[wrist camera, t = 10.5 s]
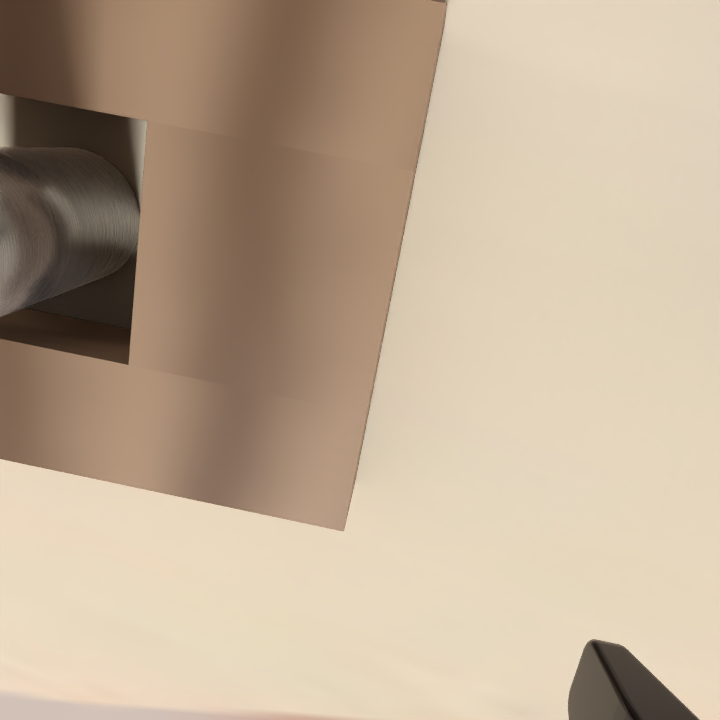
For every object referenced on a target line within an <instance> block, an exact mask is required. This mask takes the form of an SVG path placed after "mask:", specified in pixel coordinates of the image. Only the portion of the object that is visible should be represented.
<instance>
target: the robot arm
mask: <svg viewBox="0 0 720 720" xmlns="http://www.w3.org/2000/svg"><path fill="white" fill-rule="evenodd" d="M568 714H569V720H699V719H698V718H697V717H696V716H695V715H694V714H693V713H692V712H691V711H690V710H689V709H688V708H687V707H686V706H685V705H684V704H683V703H682V702H681V701H680V700H679V699H678V698H677V697H676V696H675V695H674V694H673V693H671V692H670V691H669V690H668V689H667V688H666V687H665V686H664V685H663V684H662V683H661V682H660V681H659V680H658V679H657V678H656V677H655V676H654V675H653V674H652V673H651V672H650V671H649V670H648V669H647V668H646V667H645V666H644V665H643V664H642V663H641V662H640V661H639V660H638V659H636V658H635V657H634V656H633V655H632V654H631V653H630V652H629V651H628V650H627V649H626V648H625V647H624V646H622V645H619V644H615V643H610V642H605V641H601V640H596V639H593V640H590V641H589V642H588V643H587V644H586V646H585V648H584V650H583V653H582V656H581V659H580V662H579V665H578V668H577V671H576V674H575V677H574V680H573V682H572V685H571V689H570V693H569V699H568Z"/></svg>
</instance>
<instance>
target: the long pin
mask: <svg viewBox="0 0 720 720" xmlns="http://www.w3.org/2000/svg"><path fill="white" fill-rule="evenodd" d="M139 223H140V212H139V207H138V203H137V200H136V197H135V194H134V192H133V190H132V188H131V186H130V184H129V183H128V181H127V180H126V178H125V177H124V176H123V174H122V173H121V172H120V171H119V170H118V169H117V168H116V167H115V166H114V165H113V164H112V163H110V162H109V161H108V160H106V159H105V158H103V157H101V156H100V155H98V154H96V153H93V152H91V151H88V150H84V149H80V148H66V147H0V317H2V316H4V315H7V314H10V313H12V312H15V311H17V310H20V309H23V308H25V307H28V306H30V305H33V304H36V303H38V302H41V301H43V300H46V299H49V298H51V297H54V296H56V295H59V294H62V293H64V292H67V291H69V290H72V289H75V288H77V287H80V286H82V285H85V284H88V283H90V282H93V281H95V280H98V279H101V278H103V277H106V276H108V275H110V274H112V273H114V272H115V271H117V270H118V269H120V268H121V267H122V266H123V265H124V264H125V263H126V262H127V261H128V259H129V258H130V257H131V255H132V253H133V252H134V249H135V247H136V245H137V242H138V236H139Z"/></svg>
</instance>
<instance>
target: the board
mask: <svg viewBox="0 0 720 720" xmlns="http://www.w3.org/2000/svg"><path fill="white" fill-rule="evenodd" d="M446 5H447V3H443V2H438V1H432V0H0V93H2V94H7V95H13V96H18V97H23V98H29V99H34V100H39V101H45V102H50V103H55V104H60V105H66V106H71V107H76V108H82V109H87V110H92V111H98V112H103V113H108V114H114V115H119V116H124V117H130V118H135V119H140V120H146V121H147V132H146V145H145V158H144V171H143V184H142V197H141V210H140V223H139V236H138V249H137V262H136V275H135V288H134V301H133V314H132V327H131V330H130V329H125V328H120V327H115V326H110V325H105V324H100V323H95V322H90V321H85V320H81V319H76V318H71V317H66V316H61V315H56V314H51V313H46V312H41V311H36V310H31V309H26V308H23V309H20V310H17V311H15V312H12V313H10V314H7V315H4V316H2V317H0V459H4V460H8V461H13V462H18V463H22V464H27V465H32V466H37V467H41V468H46V469H51V470H56V471H60V472H65V473H70V474H74V475H79V476H84V477H89V478H93V479H98V480H103V481H108V482H112V483H117V484H122V485H127V486H131V487H136V488H141V489H145V490H150V491H155V492H160V493H164V494H169V495H174V496H179V497H183V498H188V499H193V500H197V501H202V502H207V503H212V504H216V505H221V506H226V507H231V508H235V509H240V510H245V511H249V512H254V513H259V514H264V515H268V516H273V517H278V518H283V519H287V520H292V521H297V522H302V523H306V524H311V525H316V526H320V527H325V528H330V529H335V530H339V531H344V528H345V524H346V519H347V515H348V511H349V506H350V502H351V497H352V493H353V489H354V484H355V479H356V474H357V469H358V464H359V459H360V454H361V449H362V444H363V438H364V433H365V428H366V423H367V418H368V413H369V408H370V403H371V398H372V393H373V387H374V382H375V377H376V372H377V367H378V362H379V357H380V352H381V347H382V341H383V336H384V331H385V326H386V321H387V316H388V311H389V306H390V301H391V295H392V290H393V285H394V280H395V275H396V270H397V265H398V260H399V255H400V250H401V244H402V239H403V234H404V229H405V224H406V219H407V214H408V209H409V204H410V198H411V193H412V188H413V183H414V178H415V173H416V168H417V163H418V158H419V152H420V147H421V142H422V137H423V132H424V127H425V122H426V117H427V112H428V107H429V101H430V96H431V91H432V86H433V81H434V76H435V71H436V66H437V61H438V55H439V50H440V45H441V40H442V35H443V30H444V24H445V14H446Z"/></svg>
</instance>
